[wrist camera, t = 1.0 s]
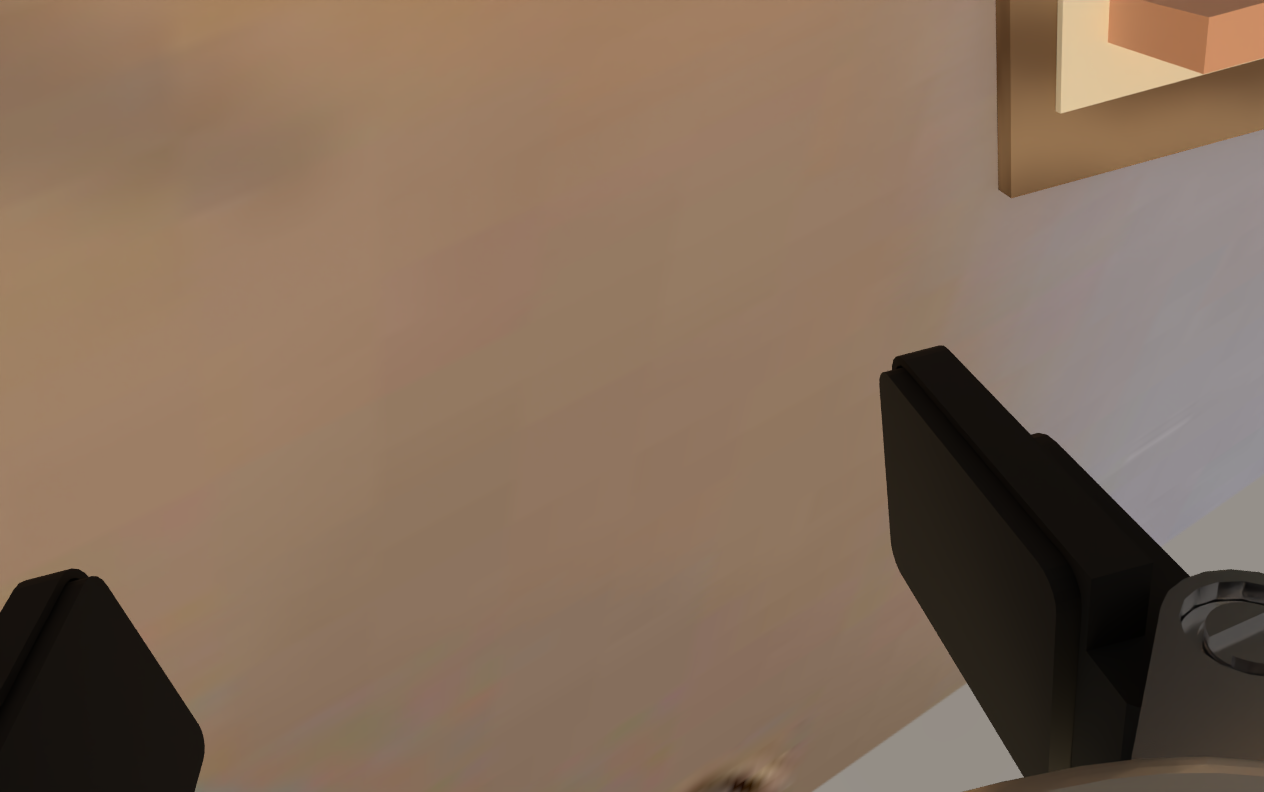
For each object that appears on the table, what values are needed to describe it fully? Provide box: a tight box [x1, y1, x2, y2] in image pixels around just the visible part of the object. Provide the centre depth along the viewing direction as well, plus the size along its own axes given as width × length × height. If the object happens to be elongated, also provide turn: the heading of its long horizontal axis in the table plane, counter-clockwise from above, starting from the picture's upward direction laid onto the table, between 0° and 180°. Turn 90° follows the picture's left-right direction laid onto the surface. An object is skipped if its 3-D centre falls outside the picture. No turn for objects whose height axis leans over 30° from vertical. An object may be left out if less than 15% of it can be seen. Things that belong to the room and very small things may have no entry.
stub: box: [1056, 0, 1264, 114], centre depth 37 cm, size 7×10×6 cm
